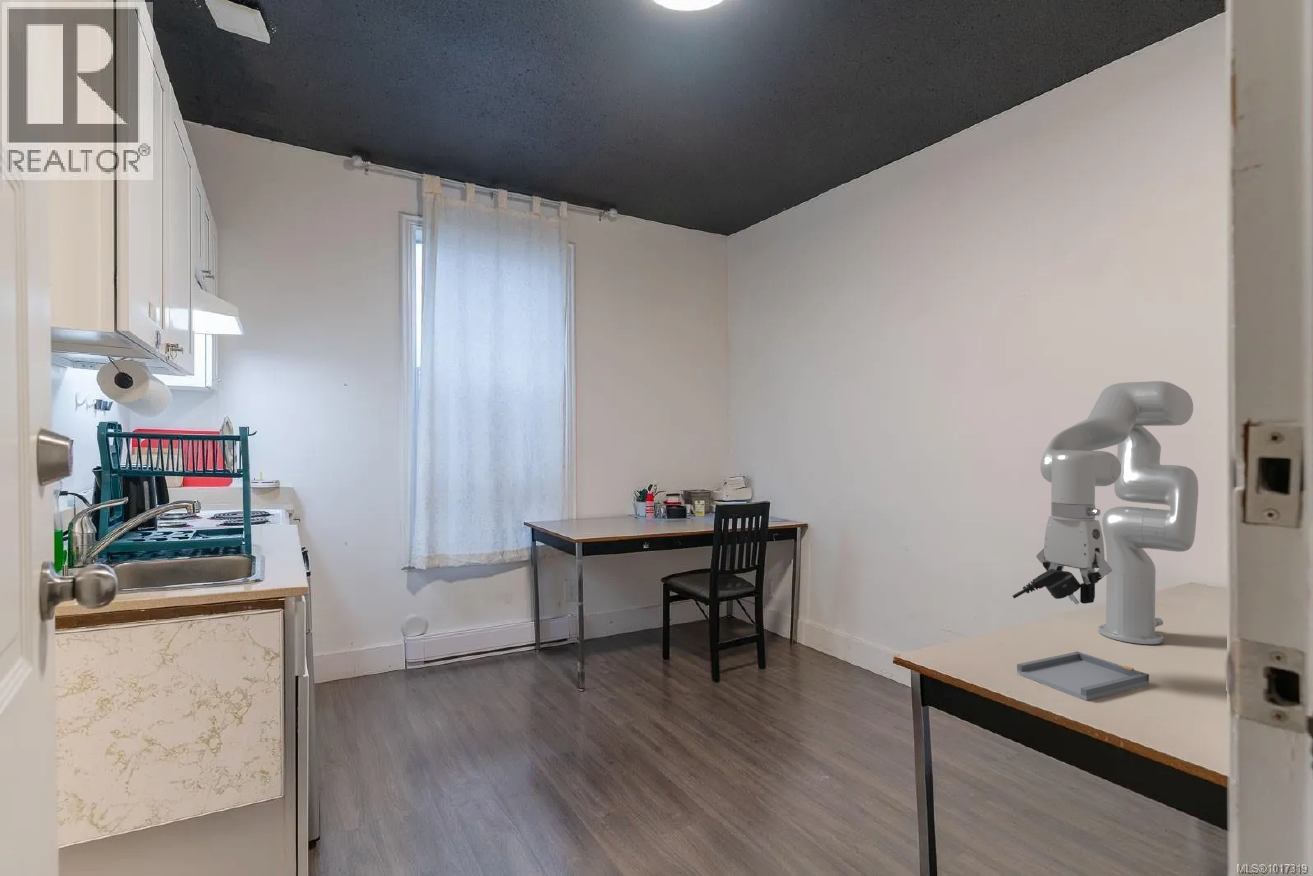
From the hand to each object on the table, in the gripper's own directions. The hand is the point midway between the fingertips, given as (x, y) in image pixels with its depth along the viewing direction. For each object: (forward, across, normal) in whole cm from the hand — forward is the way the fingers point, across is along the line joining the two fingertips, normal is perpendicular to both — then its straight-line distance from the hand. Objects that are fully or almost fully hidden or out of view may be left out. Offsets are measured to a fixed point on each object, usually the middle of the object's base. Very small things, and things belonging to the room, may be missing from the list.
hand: (1072, 598), depth 130 cm
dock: (+15, -3, +2) cm, 16 cm away
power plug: (+1, +2, +5) cm, 6 cm away
